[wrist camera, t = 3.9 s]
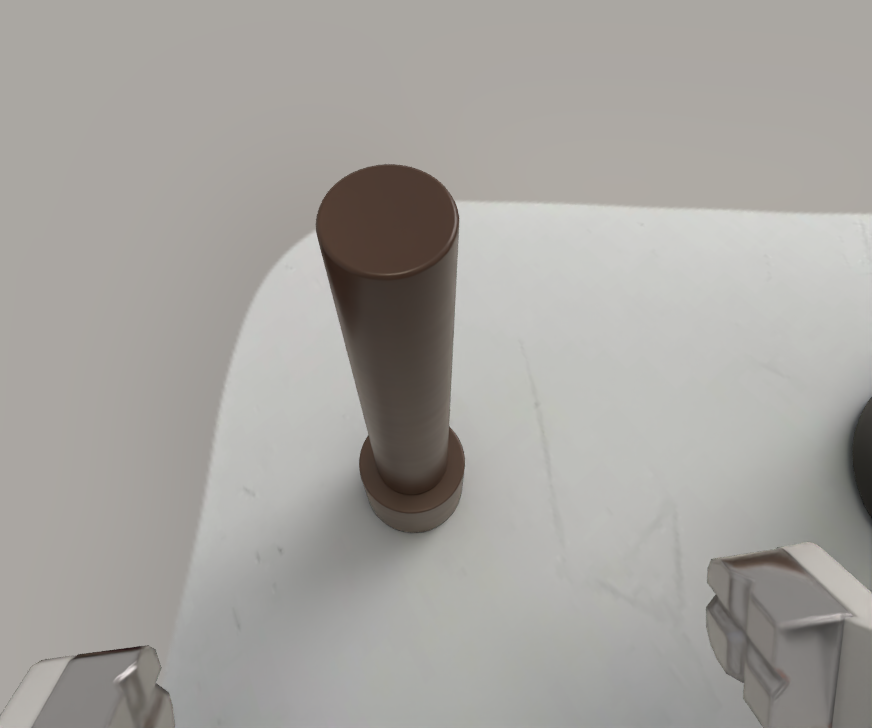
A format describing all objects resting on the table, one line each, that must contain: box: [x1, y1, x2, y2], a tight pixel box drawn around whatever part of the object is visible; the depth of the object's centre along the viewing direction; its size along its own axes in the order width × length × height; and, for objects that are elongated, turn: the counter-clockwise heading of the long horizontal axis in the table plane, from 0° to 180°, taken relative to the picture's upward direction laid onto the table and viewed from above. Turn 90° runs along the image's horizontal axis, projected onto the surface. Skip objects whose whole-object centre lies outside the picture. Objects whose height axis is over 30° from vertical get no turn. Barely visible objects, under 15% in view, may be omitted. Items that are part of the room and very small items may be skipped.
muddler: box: [316, 164, 465, 533], centre depth 18 cm, size 4×4×16 cm
